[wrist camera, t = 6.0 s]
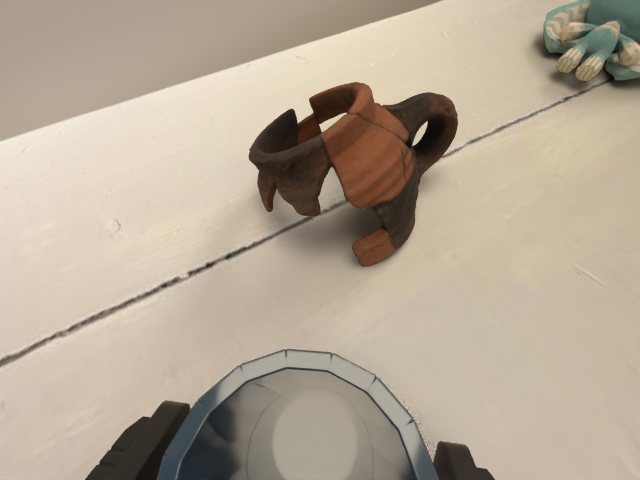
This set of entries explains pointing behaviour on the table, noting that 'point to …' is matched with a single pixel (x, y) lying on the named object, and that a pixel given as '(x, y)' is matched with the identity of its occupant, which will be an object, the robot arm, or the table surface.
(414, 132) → the brown broken clay pot
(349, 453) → the cup
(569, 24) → the stuffed animal
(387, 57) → the table surface
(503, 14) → the table surface
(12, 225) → the table surface
